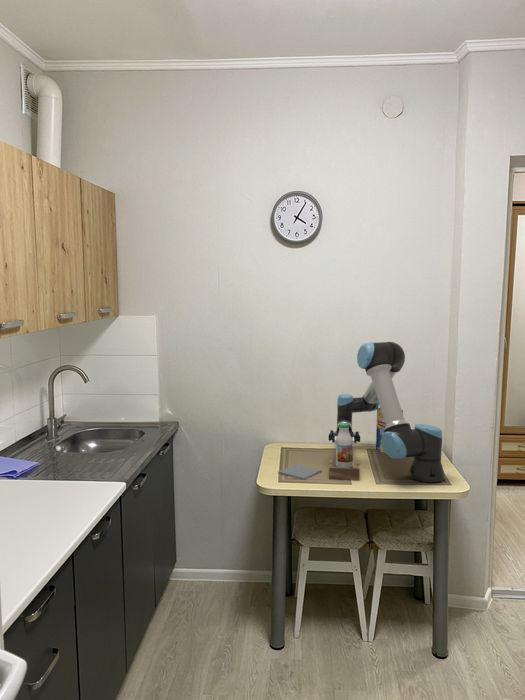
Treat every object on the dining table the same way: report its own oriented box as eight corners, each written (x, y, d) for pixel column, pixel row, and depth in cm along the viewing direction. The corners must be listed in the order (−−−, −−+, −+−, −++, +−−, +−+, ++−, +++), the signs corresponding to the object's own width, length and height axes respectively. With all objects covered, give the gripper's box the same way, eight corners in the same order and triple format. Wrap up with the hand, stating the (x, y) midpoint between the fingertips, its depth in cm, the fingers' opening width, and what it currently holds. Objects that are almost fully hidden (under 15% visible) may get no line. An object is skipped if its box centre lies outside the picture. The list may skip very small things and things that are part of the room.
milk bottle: (332, 466, 268) (332, 423, 266) (343, 462, 274) (343, 420, 271) (345, 469, 263) (344, 426, 261) (356, 465, 268) (355, 423, 266)
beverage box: (384, 448, 300) (385, 406, 297) (401, 453, 291) (403, 410, 288) (375, 450, 295) (376, 408, 293) (392, 455, 287) (394, 412, 284)
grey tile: (321, 471, 262) (321, 470, 262) (304, 479, 251) (304, 478, 251) (296, 465, 270) (296, 463, 270) (278, 473, 260) (278, 471, 259)
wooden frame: (329, 469, 264) (330, 459, 264) (358, 471, 263) (358, 460, 262) (329, 478, 253) (329, 467, 252) (359, 480, 251) (359, 469, 250)
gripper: (364, 438, 284) (366, 452, 261) (323, 436, 287) (321, 450, 264) (365, 423, 283) (367, 436, 260) (323, 421, 286) (322, 434, 263)
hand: (344, 443), depth 262 cm, fingers closed on milk bottle, 7 cm apart
